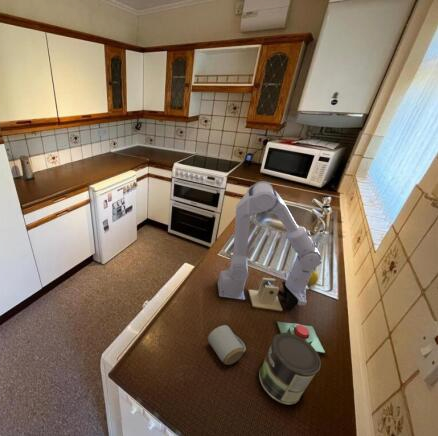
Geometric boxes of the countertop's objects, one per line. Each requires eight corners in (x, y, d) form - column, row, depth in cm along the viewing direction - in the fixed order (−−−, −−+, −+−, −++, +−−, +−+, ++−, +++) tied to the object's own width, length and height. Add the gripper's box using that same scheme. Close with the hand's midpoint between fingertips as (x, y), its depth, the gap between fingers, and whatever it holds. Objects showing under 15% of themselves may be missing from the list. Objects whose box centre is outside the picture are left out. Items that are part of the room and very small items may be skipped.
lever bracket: (275, 295, 92) (282, 276, 87) (281, 312, 85) (289, 293, 80) (248, 291, 93) (253, 273, 89) (252, 307, 86) (258, 289, 82)
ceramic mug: (222, 370, 67) (227, 354, 63) (205, 345, 73) (209, 328, 70) (251, 356, 71) (257, 340, 67) (232, 333, 77) (237, 317, 73)
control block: (284, 349, 73) (287, 342, 71) (275, 323, 80) (278, 317, 79) (323, 355, 71) (327, 349, 70) (311, 328, 79) (314, 323, 77)
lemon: (316, 291, 94) (323, 275, 90) (300, 288, 95) (307, 273, 91) (310, 281, 98) (317, 266, 95) (296, 279, 99) (302, 264, 95)
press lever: (287, 299, 88) (293, 295, 87) (290, 306, 86) (296, 301, 84) (262, 284, 87) (268, 279, 86) (264, 290, 84) (270, 285, 83)
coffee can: (257, 392, 62) (271, 361, 55) (260, 357, 70) (273, 326, 63) (302, 413, 58) (324, 382, 51) (299, 374, 66) (318, 342, 60)
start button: (296, 337, 73) (298, 334, 72) (292, 327, 76) (294, 323, 75) (309, 339, 73) (311, 336, 72) (304, 329, 76) (306, 325, 75)
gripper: (322, 293, 74) (307, 322, 81) (303, 263, 87) (292, 290, 93) (297, 290, 75) (285, 319, 82) (283, 261, 88) (273, 288, 94)
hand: (287, 303), depth 87 cm, fingers closed on press lever, 3 cm apart
